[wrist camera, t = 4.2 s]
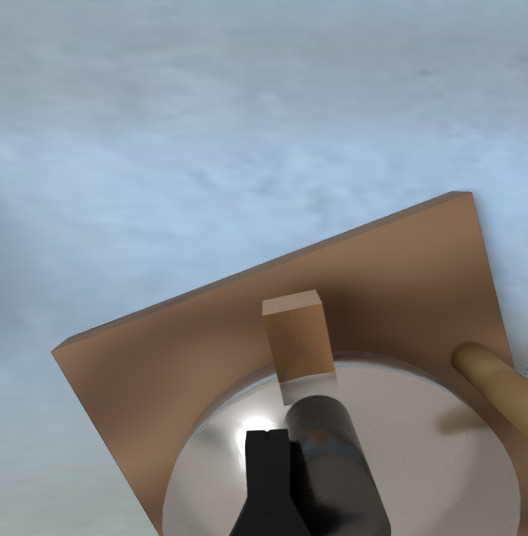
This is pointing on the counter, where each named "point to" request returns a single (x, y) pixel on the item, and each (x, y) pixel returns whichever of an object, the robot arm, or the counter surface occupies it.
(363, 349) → the base board
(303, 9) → the counter surface
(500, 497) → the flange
